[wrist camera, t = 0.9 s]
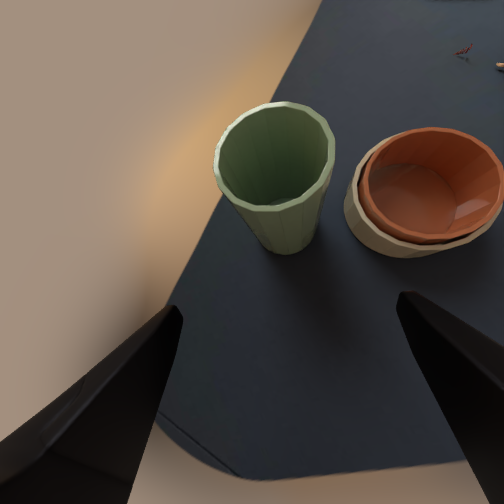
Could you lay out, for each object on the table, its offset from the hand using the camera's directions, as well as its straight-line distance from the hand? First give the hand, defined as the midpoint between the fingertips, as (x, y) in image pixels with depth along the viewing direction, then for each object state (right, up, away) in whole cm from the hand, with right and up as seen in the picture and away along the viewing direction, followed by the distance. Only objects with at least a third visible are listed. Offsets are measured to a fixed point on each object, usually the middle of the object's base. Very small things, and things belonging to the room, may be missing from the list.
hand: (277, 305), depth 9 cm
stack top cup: (+14, +7, +13) cm, 20 cm away
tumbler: (+3, +5, +15) cm, 16 cm away
